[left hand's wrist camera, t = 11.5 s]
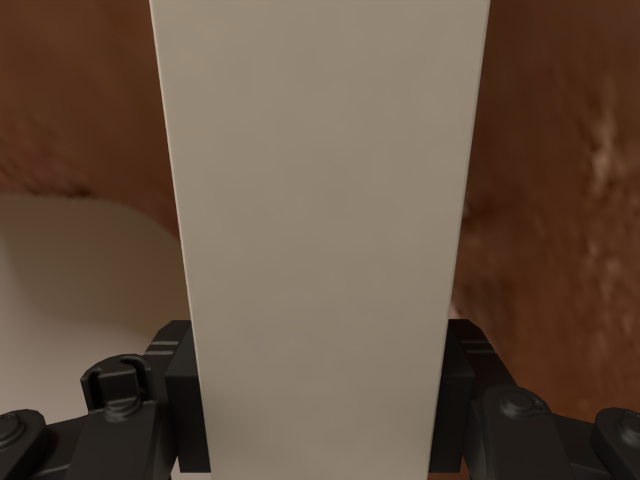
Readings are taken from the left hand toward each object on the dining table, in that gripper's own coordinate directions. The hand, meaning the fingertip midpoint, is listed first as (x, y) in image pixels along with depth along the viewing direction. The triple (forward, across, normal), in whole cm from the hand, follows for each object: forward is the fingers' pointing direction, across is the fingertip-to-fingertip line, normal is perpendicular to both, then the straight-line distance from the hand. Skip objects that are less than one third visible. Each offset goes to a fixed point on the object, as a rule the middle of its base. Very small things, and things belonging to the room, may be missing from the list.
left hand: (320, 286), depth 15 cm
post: (+1, 0, -34) cm, 34 cm away
